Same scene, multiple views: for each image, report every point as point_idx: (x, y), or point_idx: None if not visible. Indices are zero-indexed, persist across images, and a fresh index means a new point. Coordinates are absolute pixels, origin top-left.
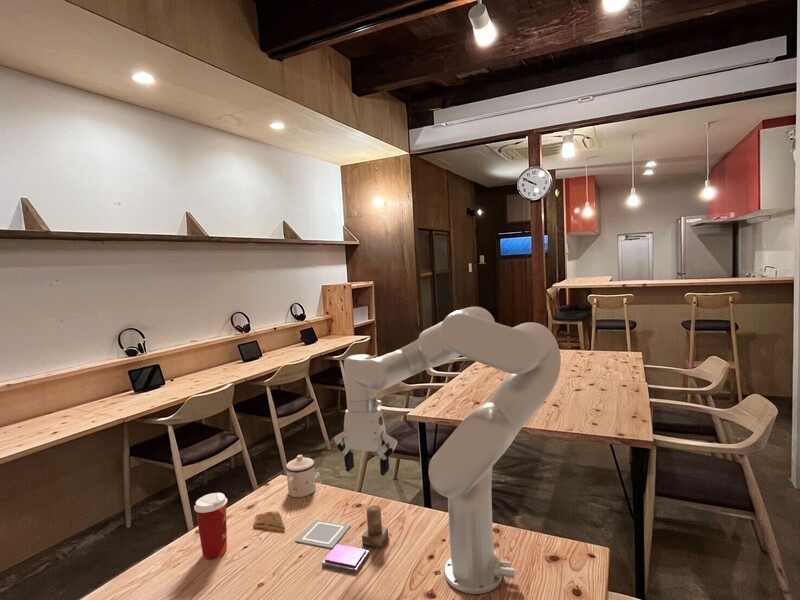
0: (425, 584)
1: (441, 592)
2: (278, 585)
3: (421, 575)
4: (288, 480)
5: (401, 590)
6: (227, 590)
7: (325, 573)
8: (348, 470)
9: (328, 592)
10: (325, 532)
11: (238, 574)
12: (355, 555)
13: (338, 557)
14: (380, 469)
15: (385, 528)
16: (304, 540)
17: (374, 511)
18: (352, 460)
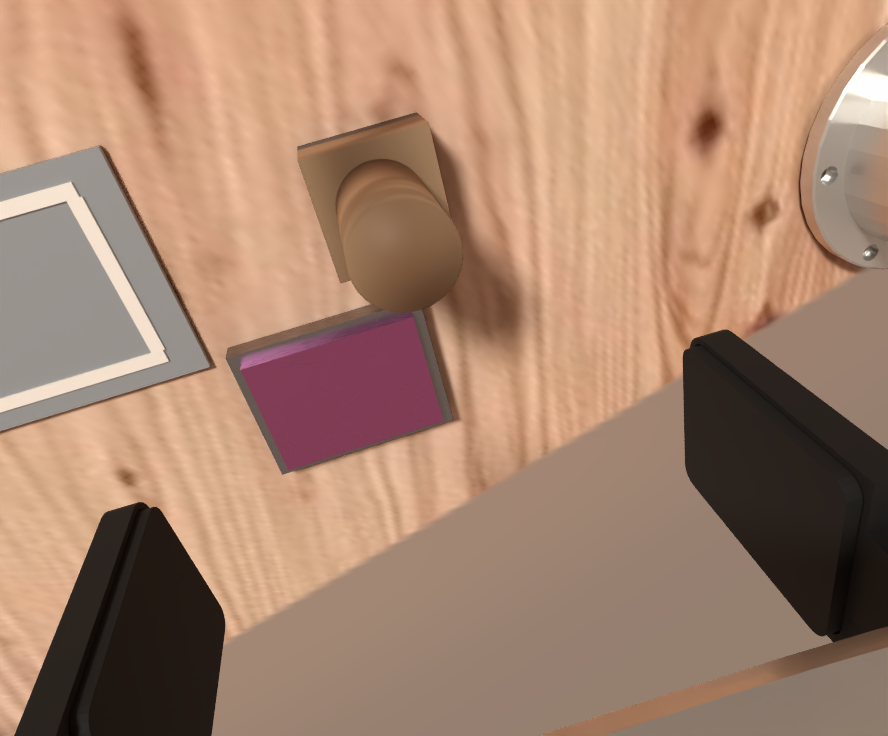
0: (736, 299)
1: (803, 300)
2: (230, 602)
3: (705, 267)
4: None
5: (661, 373)
6: None
7: (332, 476)
8: (220, 627)
9: (423, 522)
10: (35, 295)
11: (29, 662)
12: (396, 375)
13: (335, 428)
14: (729, 526)
15: (419, 139)
16: (14, 410)
17: (435, 281)
18: (147, 623)
